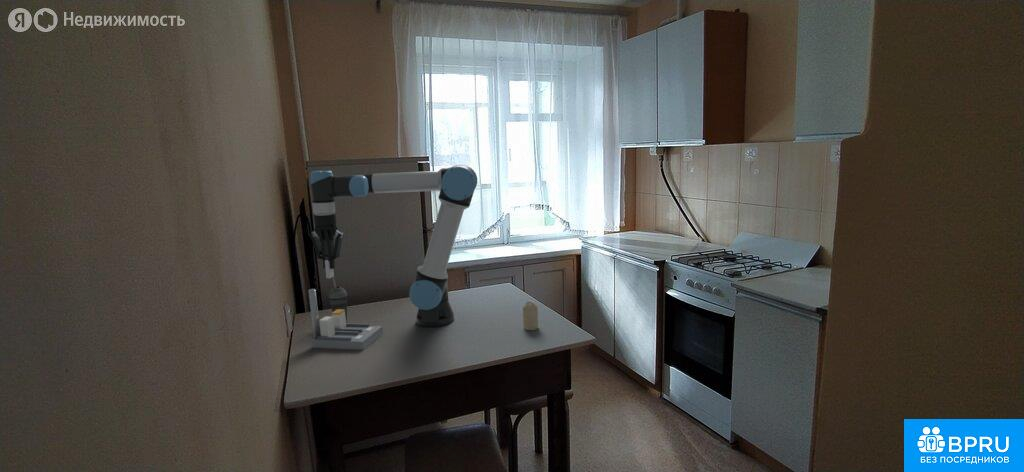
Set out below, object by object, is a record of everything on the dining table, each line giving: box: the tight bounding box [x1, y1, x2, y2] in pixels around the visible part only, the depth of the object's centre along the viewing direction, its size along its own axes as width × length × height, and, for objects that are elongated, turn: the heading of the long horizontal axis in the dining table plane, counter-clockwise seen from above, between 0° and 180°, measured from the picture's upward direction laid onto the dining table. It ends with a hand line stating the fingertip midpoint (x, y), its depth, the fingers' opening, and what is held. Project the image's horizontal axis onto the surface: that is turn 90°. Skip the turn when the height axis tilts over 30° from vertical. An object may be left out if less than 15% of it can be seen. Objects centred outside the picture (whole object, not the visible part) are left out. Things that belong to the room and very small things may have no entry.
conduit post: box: [308, 288, 321, 339], centre depth 171 cm, size 2×2×18 cm
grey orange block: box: [331, 309, 346, 328], centre depth 181 cm, size 3×4×7 cm
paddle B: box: [319, 315, 335, 337], centre depth 173 cm, size 3×4×7 cm
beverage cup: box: [328, 276, 348, 323], centre depth 193 cm, size 7×7×20 cm
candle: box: [522, 301, 539, 331], centre depth 181 cm, size 6×6×10 cm
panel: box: [311, 322, 384, 351], centre depth 176 cm, size 20×15×4 cm
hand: (330, 277), depth 176 cm, fingers closed
